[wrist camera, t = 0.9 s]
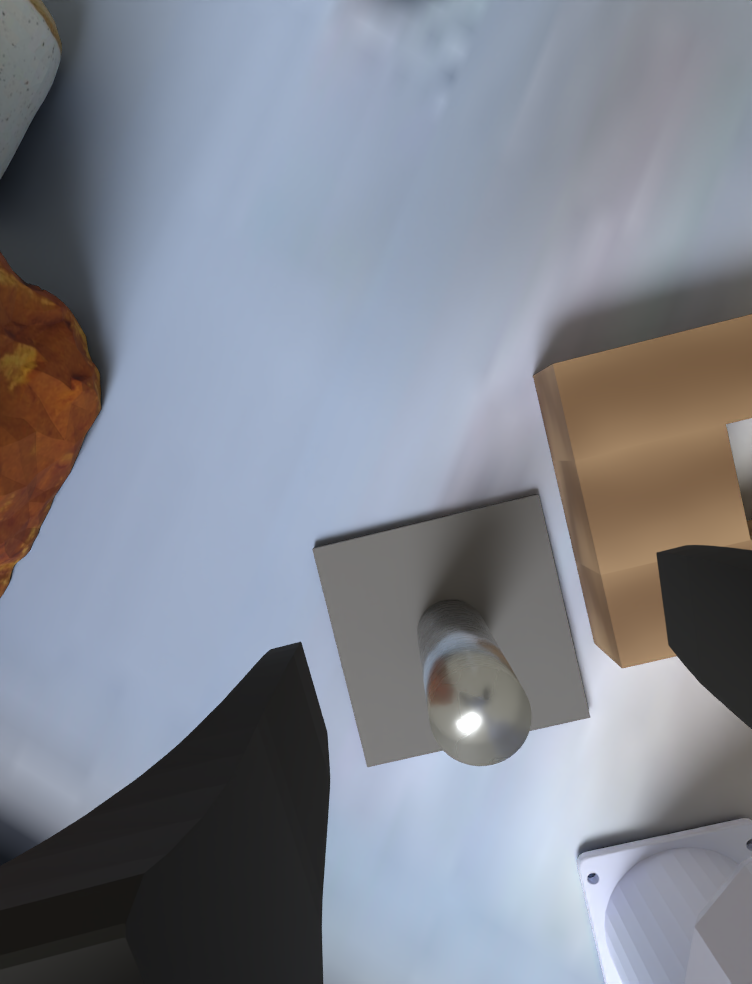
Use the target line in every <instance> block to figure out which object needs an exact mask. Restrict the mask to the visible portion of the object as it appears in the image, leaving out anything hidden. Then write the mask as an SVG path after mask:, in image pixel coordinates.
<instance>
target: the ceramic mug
mask: <svg viewBox="0 0 752 984" xmlns="http://www.w3.org/2000/svg"><path fill="white" fill-rule="evenodd" d="M61 53H62V43H61V40H60V37H59V34H58V31H57V27H56V24H55V21H54V20H53V18H52V16H51V14H50V13H49V11H48V9H47V8H46V7H45V5H44V4H43V2H42V1H41V0H0V179H1V178H2V176H3V174H4V172H5V171H6V169H7V167H8V165H9V163H10V162H11V160H12V158H13V156H14V154H15V152H16V150H17V148H18V146H19V145H20V143H21V141H22V139H23V137H24V135H25V133H26V131H27V129H28V127H29V125H30V123H31V121H32V120H33V118H34V116H35V114H36V112H37V111H38V109H39V108H40V106H41V105H42V103H43V101H44V100H45V98H46V96H47V94H48V92H49V90H50V88H51V86H52V84H53V81H54V79H55V76H56V73H57V70H58V67H59V64H60V59H61Z"/></svg>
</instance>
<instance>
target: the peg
mask: <svg viewBox="0 0 752 984" xmlns="http://www.w3.org/2000/svg"><path fill="white" fill-rule="evenodd" d="M417 639H418V646H419V653H420V660H421V667H422V674H423V681H424V688H425V695H426V701H427V708H428V715H429V722H430V728H431V731H432V734H433V736H434V738H435V740H436V742H437V743H438V745H439V746H440V747H441V748H442V750H443V751H444V752H446V753H447V754H448V755H449V756H451V757H452V758H453V759H455V760H457V761H459V762H462V763H465V764H468V765H474V766H487V765H493V764H496V763H499V762H502V761H504V760H506V759H507V758H509V757H511V756H512V755H513V754H514V753H516V752H517V750H518V749H519V748H520V747H521V746H522V745H523V743H524V742H525V740H526V738H527V736H528V733H529V731H530V726H531V719H532V714H531V706H530V702H529V699H528V697H527V695H526V693H525V691H524V689H523V687H522V686H521V684H520V682H519V680H518V679H517V677H516V675H515V674H514V672H513V670H512V668H511V667H510V665H509V663H508V661H507V660H506V658H505V656H504V654H503V653H502V651H501V649H500V647H499V646H498V644H497V642H496V641H495V639H494V637H493V635H492V634H491V632H490V630H489V628H488V627H487V625H486V623H485V621H484V620H483V618H482V616H481V615H480V613H479V612H478V611H477V610H476V609H475V608H474V607H473V606H471V605H470V604H468V603H466V602H463V601H460V600H454V599H448V600H443V601H439V602H437V603H435V604H433V605H432V606H430V607H429V608H428V609H427V610H426V611H425V612H424V614H423V615H422V617H421V618H420V621H419V623H418V628H417Z"/></svg>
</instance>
